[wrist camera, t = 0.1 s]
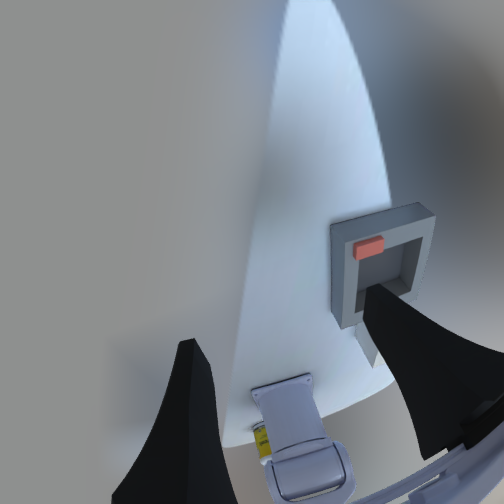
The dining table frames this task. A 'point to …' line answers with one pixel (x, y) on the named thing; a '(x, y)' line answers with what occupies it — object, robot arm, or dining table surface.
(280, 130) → the dining table surface
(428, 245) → the socket plate
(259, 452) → the supplement bottle
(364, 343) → the plug
